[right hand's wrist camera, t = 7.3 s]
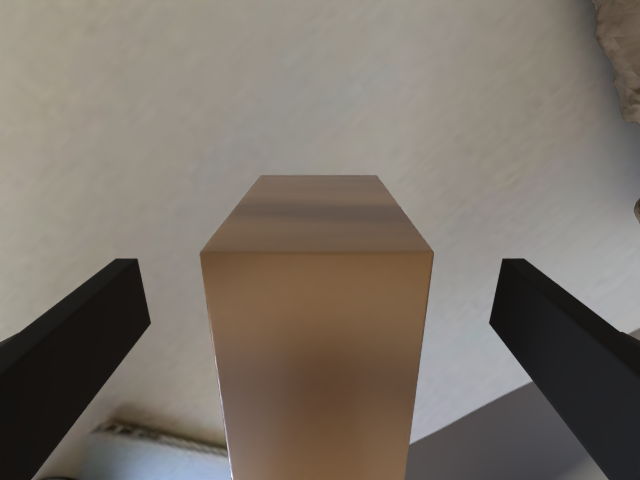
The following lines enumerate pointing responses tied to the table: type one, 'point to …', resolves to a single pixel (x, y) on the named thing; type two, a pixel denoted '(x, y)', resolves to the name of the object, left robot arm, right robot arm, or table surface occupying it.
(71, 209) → the table surface
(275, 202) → the bar
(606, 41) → the stone
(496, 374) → the table surface
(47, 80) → the table surface
